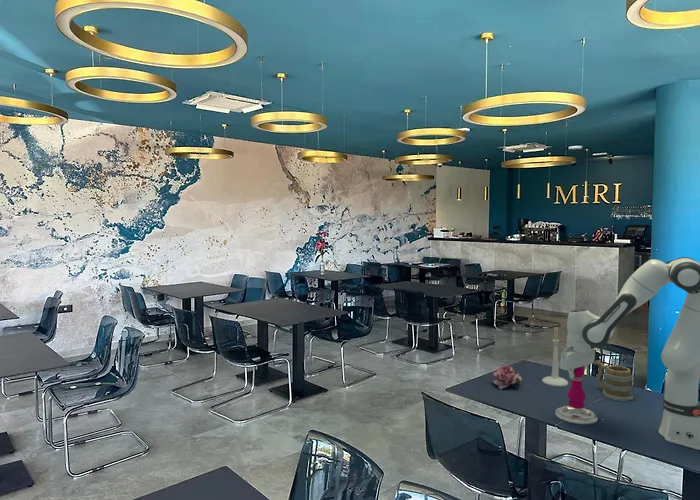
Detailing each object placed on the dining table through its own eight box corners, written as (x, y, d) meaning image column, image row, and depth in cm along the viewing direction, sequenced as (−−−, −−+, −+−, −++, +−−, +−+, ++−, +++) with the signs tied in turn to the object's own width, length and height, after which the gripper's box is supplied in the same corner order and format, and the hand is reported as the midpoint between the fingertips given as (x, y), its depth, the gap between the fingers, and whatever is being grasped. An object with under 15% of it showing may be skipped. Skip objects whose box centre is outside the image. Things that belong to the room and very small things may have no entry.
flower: (497, 373, 266) (498, 358, 262) (524, 382, 257) (526, 366, 254) (487, 388, 255) (488, 372, 251) (515, 398, 246) (516, 382, 243)
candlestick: (572, 386, 254) (573, 329, 252) (547, 386, 254) (548, 329, 252) (561, 378, 266) (563, 324, 264) (538, 378, 266) (539, 324, 265)
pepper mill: (587, 409, 211) (588, 364, 209) (569, 408, 212) (570, 363, 211) (582, 403, 218) (583, 359, 217) (565, 402, 219) (566, 358, 218)
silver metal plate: (605, 418, 212) (605, 414, 212) (582, 427, 203) (582, 423, 203) (570, 406, 227) (570, 402, 227) (547, 414, 218) (547, 409, 218)
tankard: (638, 398, 235) (639, 368, 234) (619, 402, 231) (620, 371, 230) (603, 385, 254) (604, 357, 253) (585, 389, 249) (586, 360, 248)
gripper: (569, 350, 205) (569, 382, 206) (597, 343, 216) (597, 374, 217) (556, 347, 210) (555, 378, 211) (584, 340, 221) (583, 370, 222)
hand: (576, 376), depth 214 cm, fingers closed on pepper mill, 5 cm apart
